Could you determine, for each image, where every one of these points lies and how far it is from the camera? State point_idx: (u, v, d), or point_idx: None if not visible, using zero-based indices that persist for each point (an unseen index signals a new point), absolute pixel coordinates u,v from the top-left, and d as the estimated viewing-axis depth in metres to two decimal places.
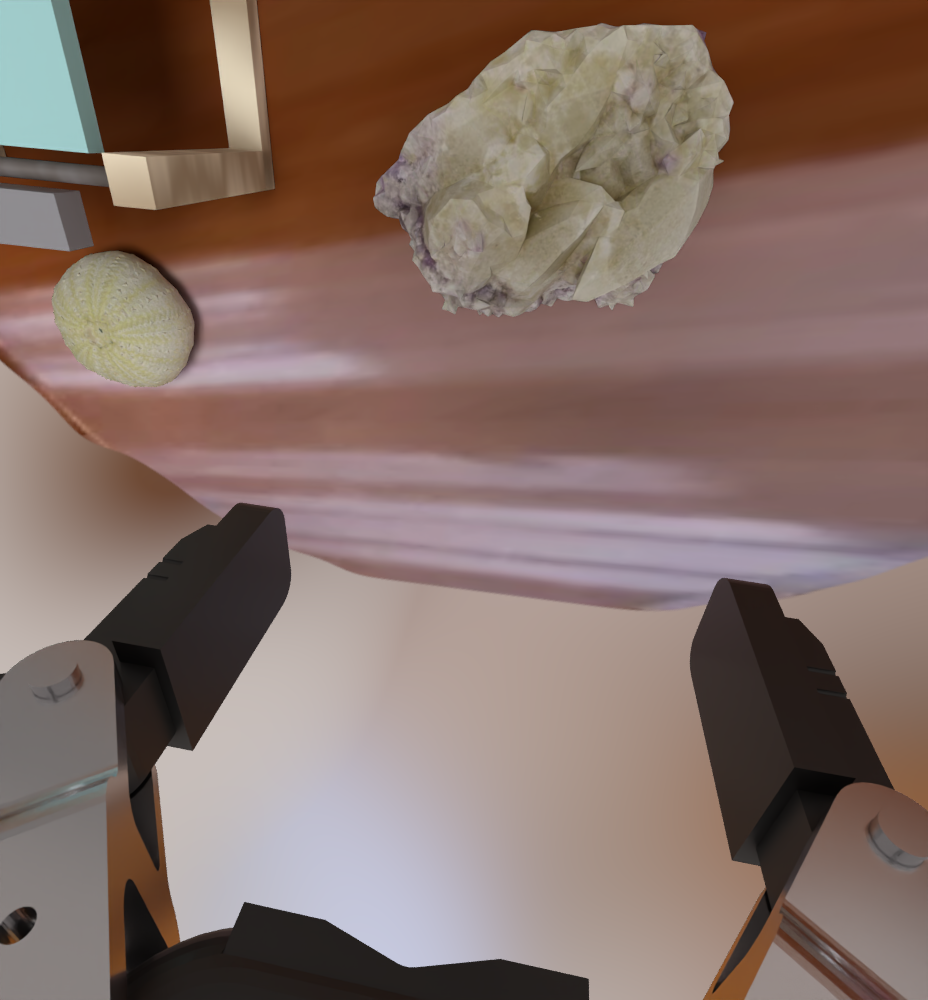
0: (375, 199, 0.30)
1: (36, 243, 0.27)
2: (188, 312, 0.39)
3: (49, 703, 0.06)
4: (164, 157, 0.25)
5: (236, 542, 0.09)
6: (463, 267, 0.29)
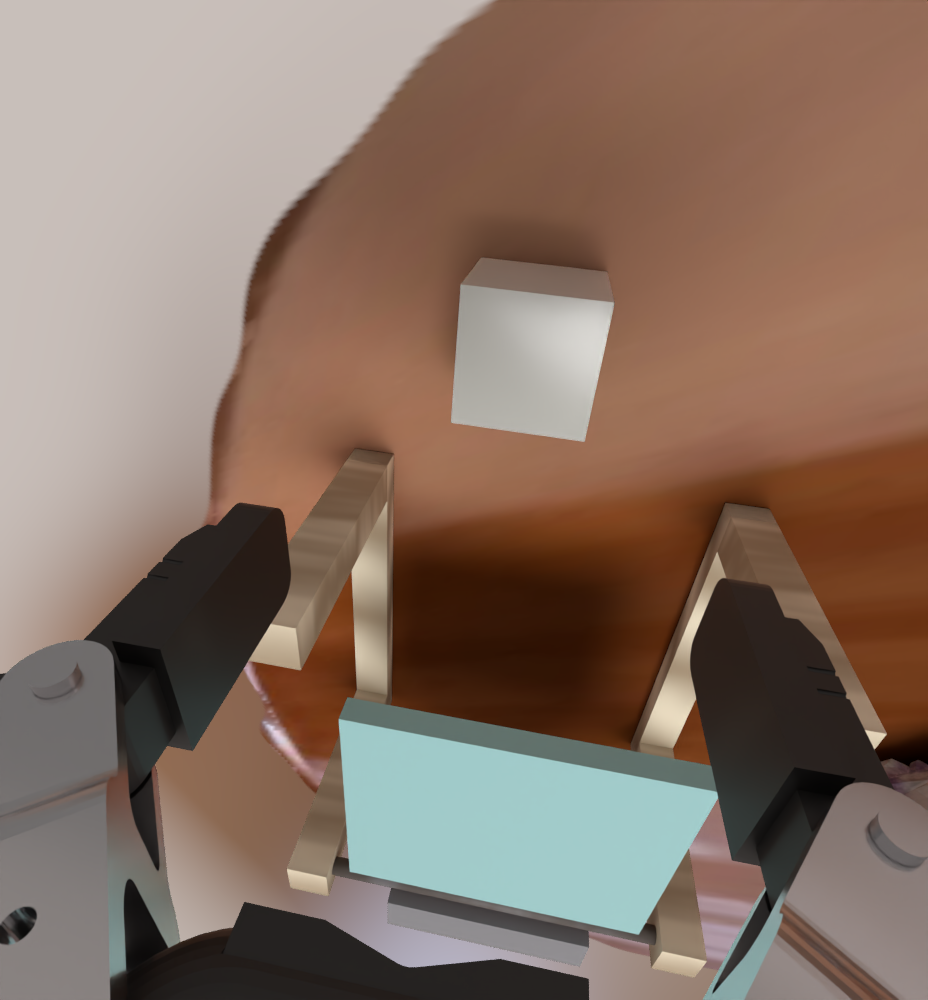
0: None
1: (547, 958, 0.29)
2: None
3: (49, 702, 0.06)
4: (701, 928, 0.27)
5: (236, 542, 0.09)
6: None
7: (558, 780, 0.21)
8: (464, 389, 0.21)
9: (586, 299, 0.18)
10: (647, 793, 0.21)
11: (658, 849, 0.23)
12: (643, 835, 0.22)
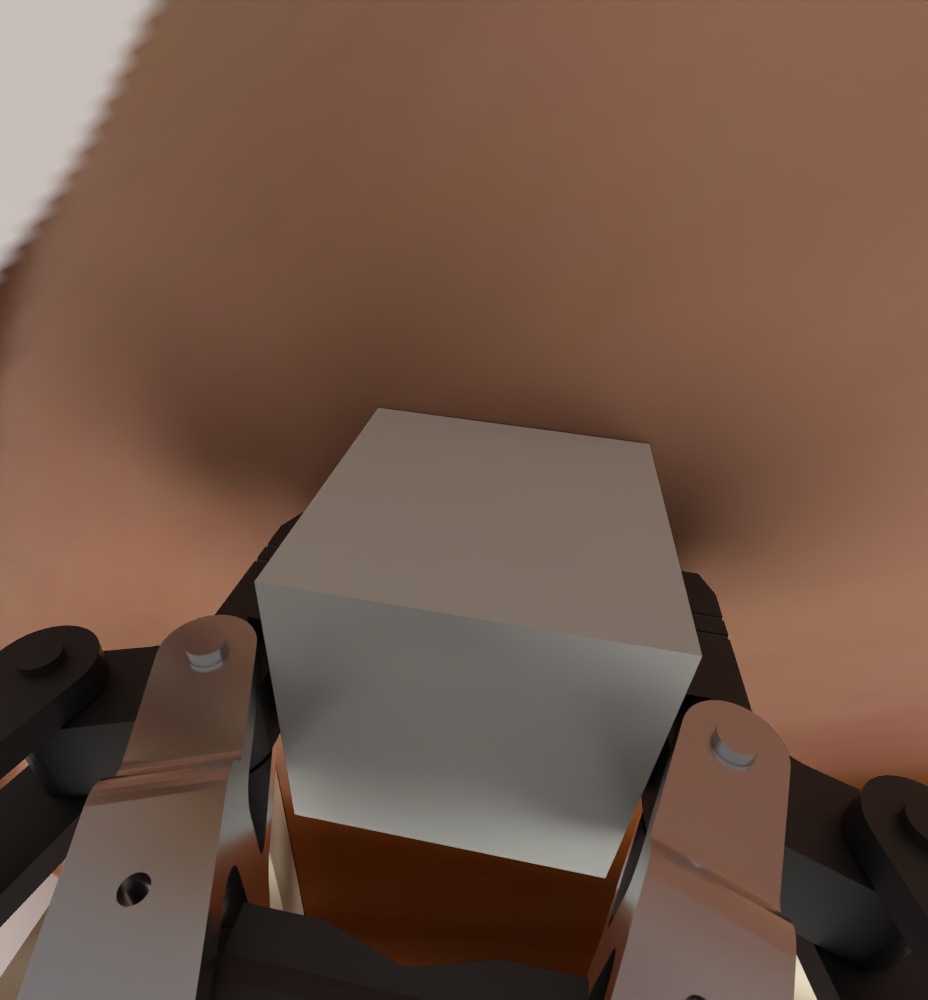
0: None
1: None
2: None
3: (208, 670, 0.07)
4: None
5: None
6: None
7: None
8: (312, 769, 0.08)
9: (616, 640, 0.06)
10: None
11: None
12: None
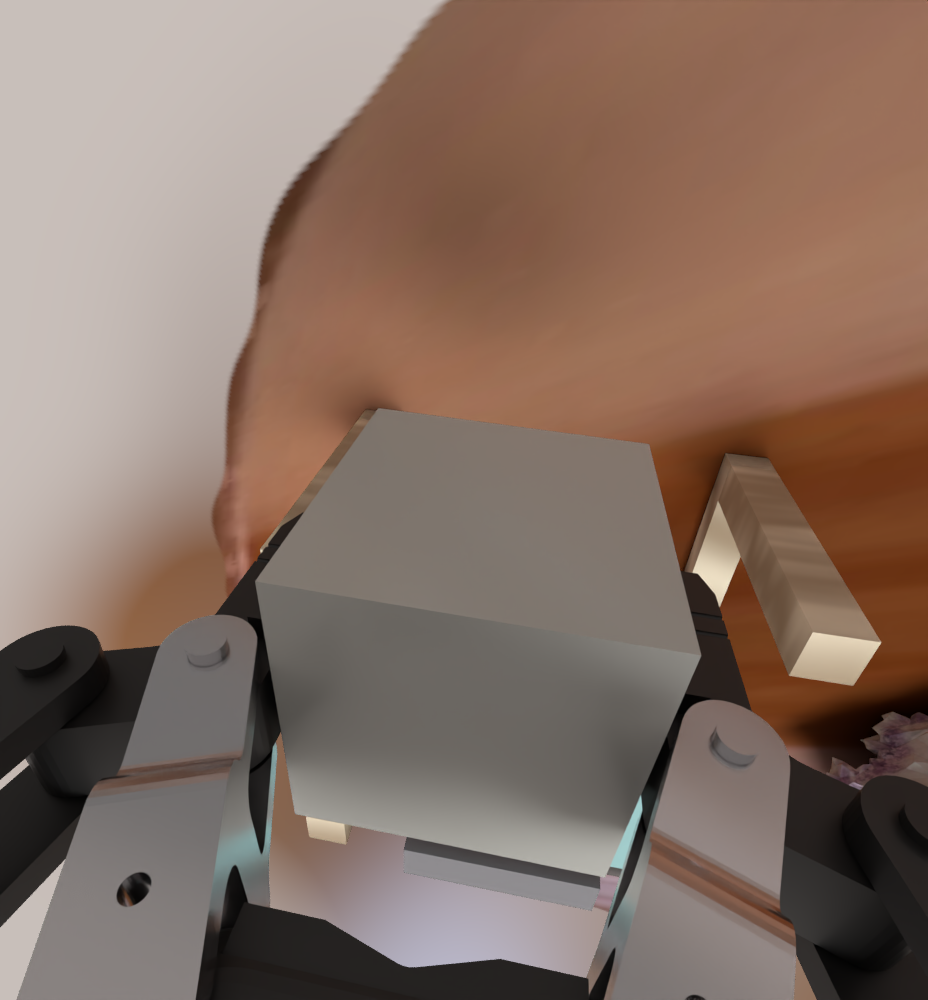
0: None
1: (560, 902, 0.30)
2: None
3: (208, 670, 0.07)
4: None
5: None
6: None
7: None
8: (312, 769, 0.08)
9: (616, 640, 0.06)
10: None
11: None
12: None
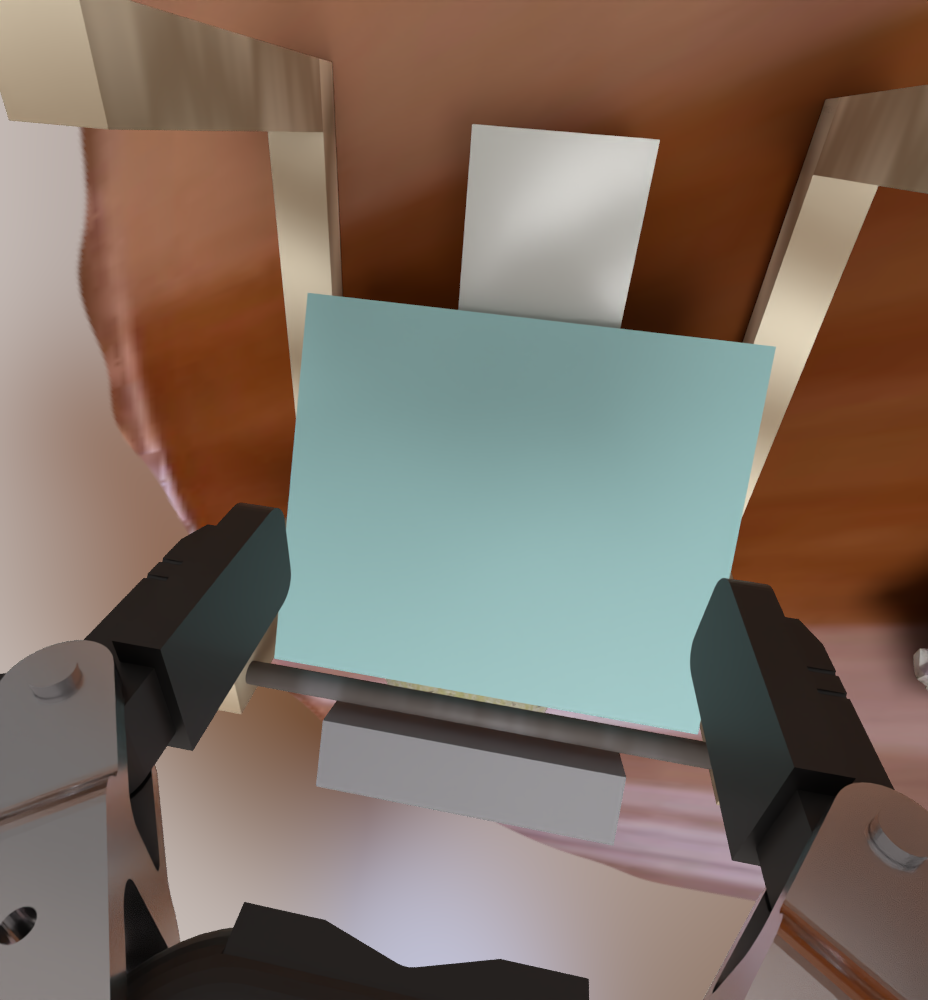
0: (926, 676, 0.23)
1: (563, 830, 0.19)
2: None
3: (49, 702, 0.06)
4: None
5: (236, 542, 0.09)
6: None
7: (575, 364, 0.17)
8: None
9: None
10: (687, 367, 0.17)
11: (710, 493, 0.17)
12: (688, 464, 0.17)
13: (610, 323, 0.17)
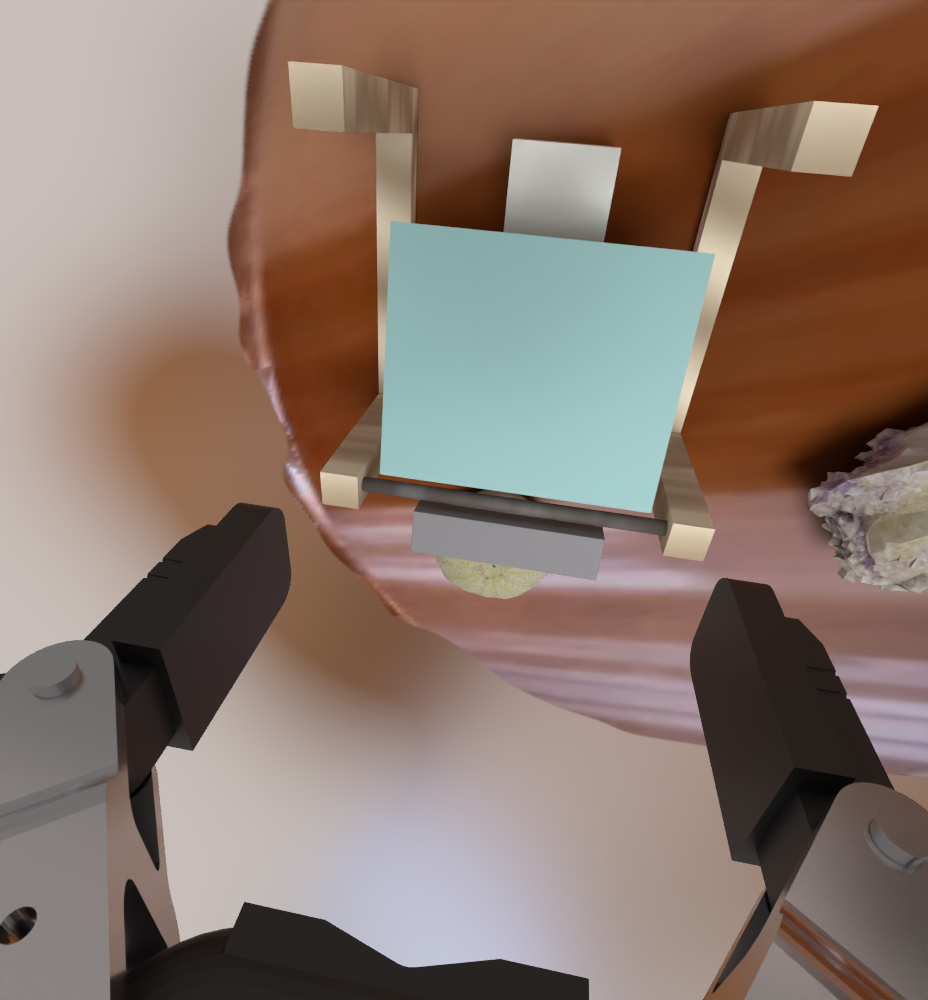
0: (814, 506, 0.34)
1: (565, 572, 0.30)
2: None
3: (49, 703, 0.06)
4: (709, 515, 0.29)
5: (236, 542, 0.09)
6: (906, 572, 0.33)
7: (577, 269, 0.25)
8: (523, 139, 0.28)
9: None
10: (653, 270, 0.24)
11: (665, 357, 0.26)
12: (651, 338, 0.26)
13: None
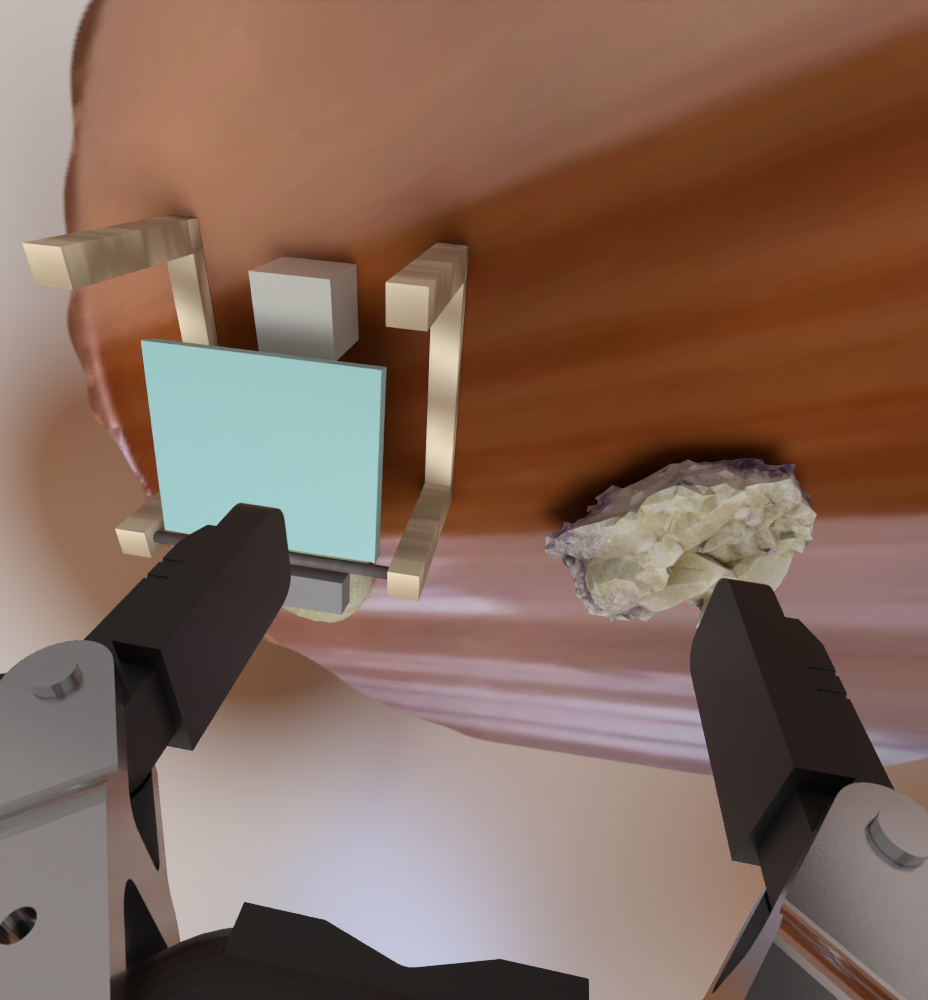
0: (547, 551, 0.41)
1: (317, 608, 0.37)
2: None
3: (49, 702, 0.06)
4: (423, 563, 0.36)
5: (236, 542, 0.09)
6: (616, 606, 0.40)
7: (284, 379, 0.32)
8: (265, 266, 0.35)
9: None
10: (339, 381, 0.31)
11: (361, 445, 0.33)
12: (348, 430, 0.33)
13: (329, 358, 0.36)
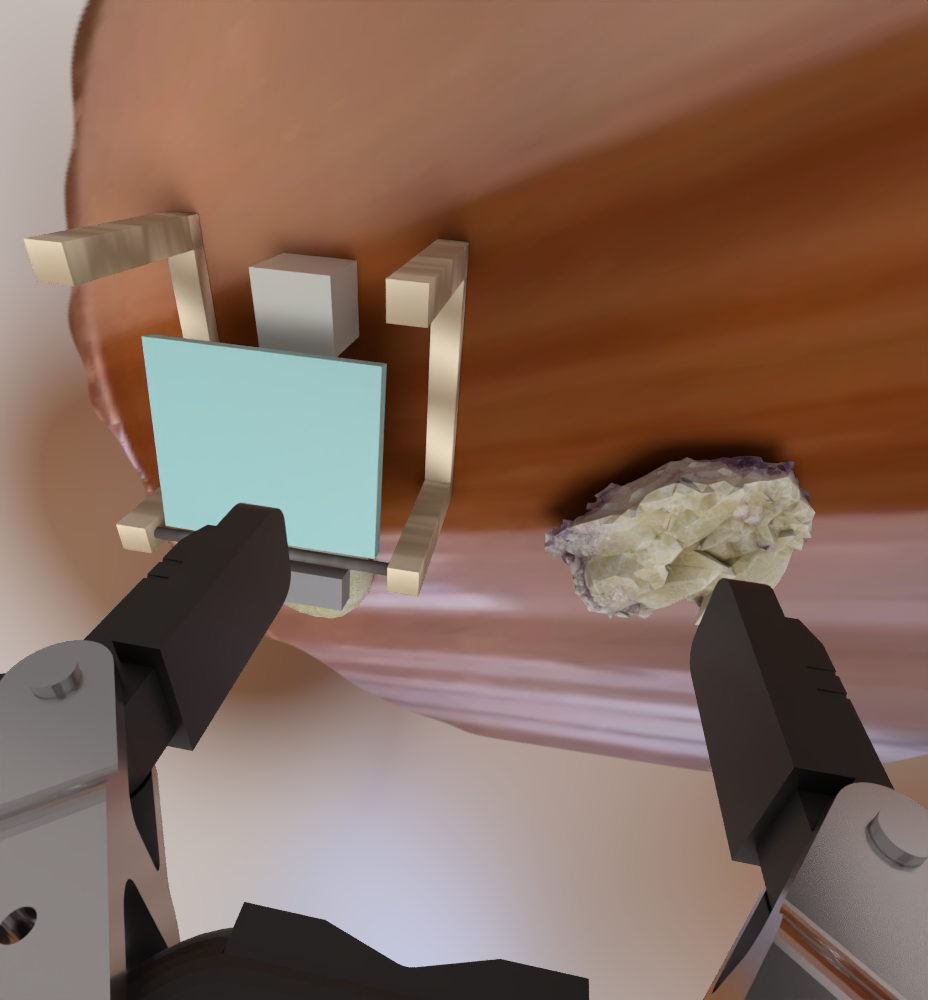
0: (546, 548, 0.41)
1: (317, 604, 0.37)
2: None
3: (49, 703, 0.06)
4: (423, 560, 0.36)
5: (236, 542, 0.09)
6: (615, 603, 0.40)
7: (284, 375, 0.32)
8: (265, 263, 0.35)
9: (343, 259, 0.38)
10: (340, 377, 0.32)
11: (361, 441, 0.33)
12: (348, 427, 0.33)
13: (329, 354, 0.36)
